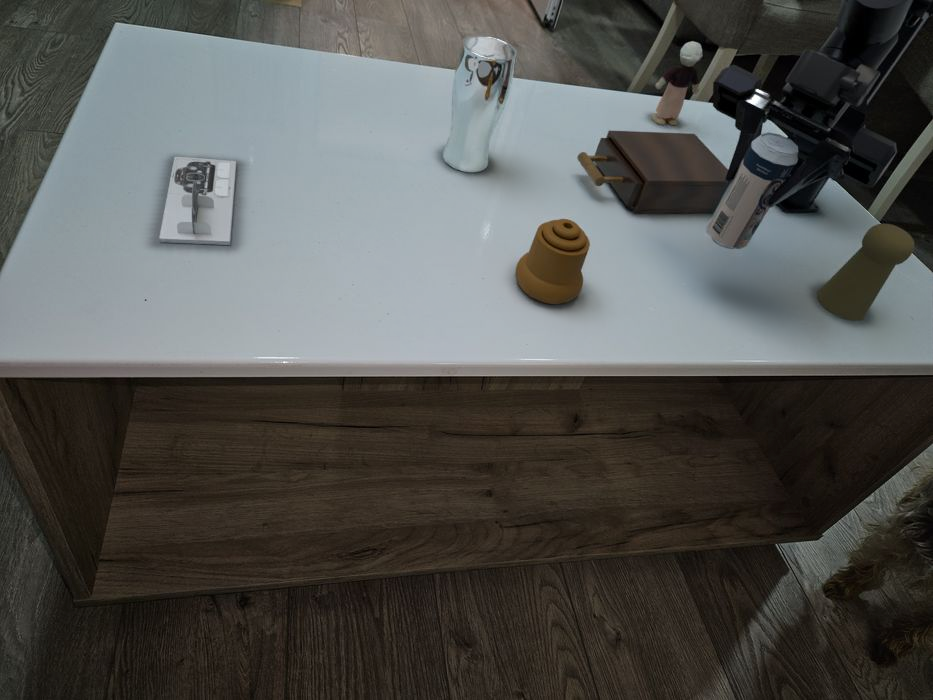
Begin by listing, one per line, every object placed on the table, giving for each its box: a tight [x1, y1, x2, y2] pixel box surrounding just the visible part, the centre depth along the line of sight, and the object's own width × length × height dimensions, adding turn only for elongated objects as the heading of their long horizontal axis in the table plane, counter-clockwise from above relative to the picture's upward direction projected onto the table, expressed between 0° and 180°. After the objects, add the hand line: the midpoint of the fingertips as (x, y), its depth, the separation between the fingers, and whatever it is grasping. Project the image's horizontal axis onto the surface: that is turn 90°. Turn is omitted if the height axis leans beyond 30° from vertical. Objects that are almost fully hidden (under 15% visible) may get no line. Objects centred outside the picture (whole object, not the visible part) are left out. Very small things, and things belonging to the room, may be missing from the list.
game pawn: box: [816, 222, 915, 322], centre depth 81 cm, size 6×6×11 cm
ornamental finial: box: [515, 218, 591, 305], centre depth 73 cm, size 8×8×8 cm
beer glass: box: [442, 34, 518, 173], centre depth 86 cm, size 7×7×15 cm
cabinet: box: [605, 129, 731, 214], centre depth 94 cm, size 14×12×5 cm
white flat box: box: [158, 155, 237, 246], centre depth 72 cm, size 15×7×4 cm, turn 11°
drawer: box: [576, 137, 645, 207], centre depth 93 cm, size 18×11×3 cm, turn 107°
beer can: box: [705, 131, 798, 250], centre depth 72 cm, size 5×5×12 cm
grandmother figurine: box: [651, 40, 703, 126], centre depth 107 cm, size 8×4×13 cm, turn 115°
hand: (747, 193), depth 71 cm, fingers closed on beer can, 5 cm apart
